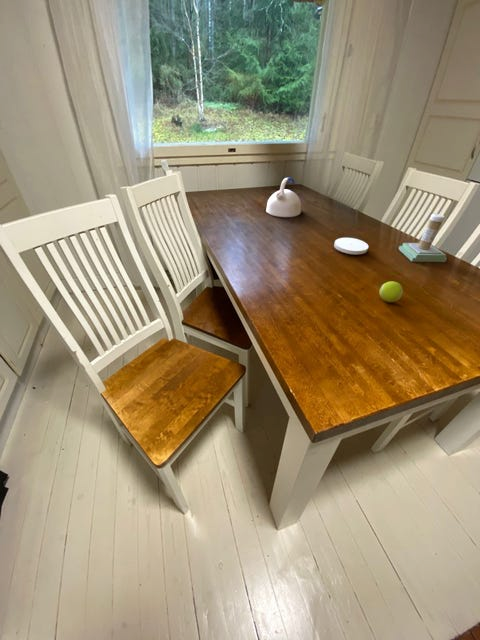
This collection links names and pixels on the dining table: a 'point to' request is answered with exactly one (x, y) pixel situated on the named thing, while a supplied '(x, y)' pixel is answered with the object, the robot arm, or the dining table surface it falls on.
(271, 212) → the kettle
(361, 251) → the plastic lid
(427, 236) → the sprinkles bottle
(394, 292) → the tennis ball
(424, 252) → the pan
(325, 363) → the dining table surface
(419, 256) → the scale
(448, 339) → the dining table surface
